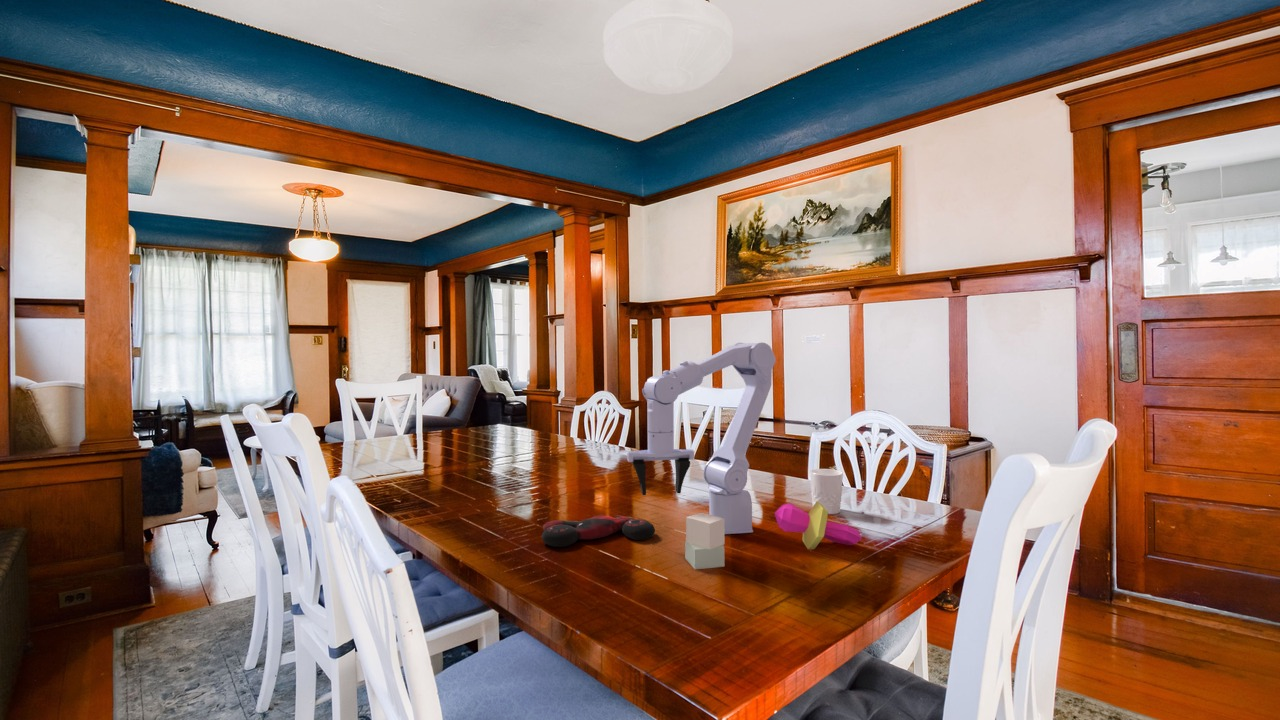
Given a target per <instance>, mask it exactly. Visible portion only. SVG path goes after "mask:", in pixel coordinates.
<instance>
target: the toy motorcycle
mask: <svg viewBox="0 0 1280 720" xmlns="http://www.w3.org/2000/svg"><path fill="white" fill-rule="evenodd" d="M542 528H543V532H542V534H541V538H542V541H543V543H544V544H546V545H548V546H551V547H555V548H564V547H569V546H571V545H573V544H574V543H576V542H577V541H578V540H595V539H601V538H606V537H607V536H610V535H613V534H615V533H616V532H619V531H622V533H623V535H624V536H626V537H627V538H629V539H631V540H634V541H644V540H645V541H646V540H648V539H650V538H652V537H653V536H654V534H655V532H656V529H655V526H654V525H653V523H652V522H650V521H648V520H645V519H641V518H634V517H631V516H624V515H620V514H619V515H618V514H615V515H614V517H612V516H610V515H604V514H603V515H602V514H601V515H596V516H593V517H590V518H586V519H583V520H581V521H577V520H564V519H563V520H562V519H554V520H551V521H547V522H545V523H544V524H543V525H542Z"/></svg>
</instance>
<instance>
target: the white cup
mask: <svg viewBox="0 0 1280 720" xmlns="http://www.w3.org/2000/svg"><path fill="white" fill-rule="evenodd" d="M810 490H811V500H812V503H811V504H812V507H813V506H814V505H815V503H816V502H819V503H820V504H821V505H823V506H824V508H825V509H826V510H827V511H828V515H836V514H839V513H840V512H841V502H842V495H843V494H842V492H843V472H842V471H841V470H837V469H831V468H816V469H812V470H810Z"/></svg>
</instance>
